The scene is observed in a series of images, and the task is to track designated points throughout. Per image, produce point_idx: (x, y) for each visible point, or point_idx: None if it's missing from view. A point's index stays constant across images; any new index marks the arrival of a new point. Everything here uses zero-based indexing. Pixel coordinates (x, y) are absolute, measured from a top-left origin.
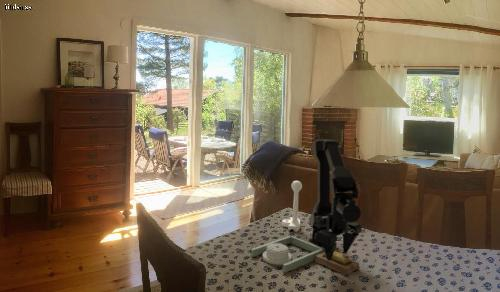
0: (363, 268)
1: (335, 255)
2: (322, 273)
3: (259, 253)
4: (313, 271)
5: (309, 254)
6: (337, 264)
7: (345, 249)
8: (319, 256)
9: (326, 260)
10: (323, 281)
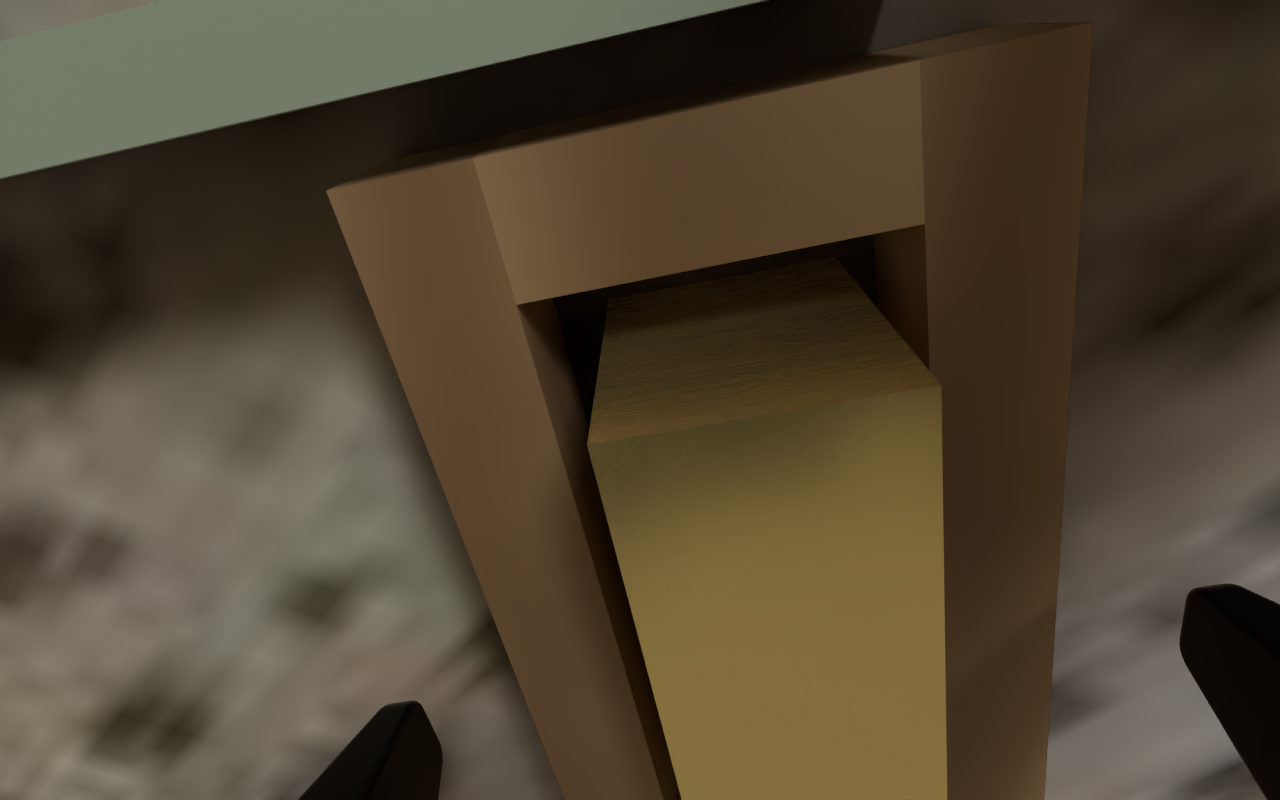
0: (1061, 780)
1: (680, 759)
2: (254, 638)
3: None
4: (109, 524)
5: (57, 99)
6: (580, 769)
7: (1268, 730)
8: (429, 294)
9: (470, 559)
10: (143, 794)
